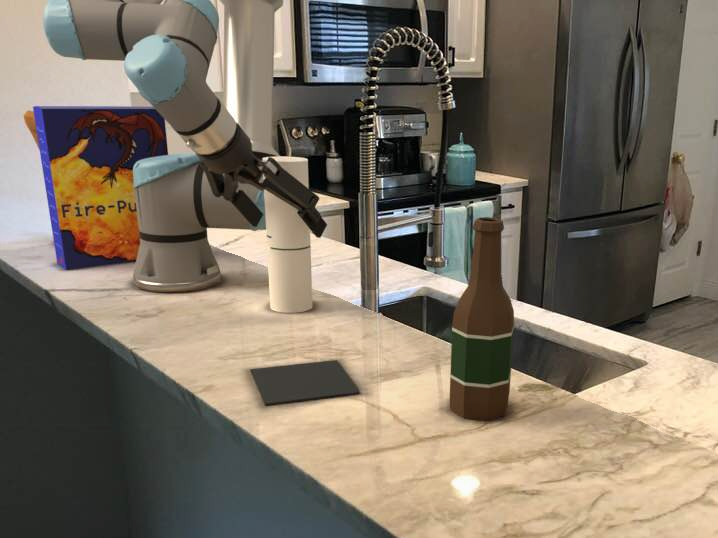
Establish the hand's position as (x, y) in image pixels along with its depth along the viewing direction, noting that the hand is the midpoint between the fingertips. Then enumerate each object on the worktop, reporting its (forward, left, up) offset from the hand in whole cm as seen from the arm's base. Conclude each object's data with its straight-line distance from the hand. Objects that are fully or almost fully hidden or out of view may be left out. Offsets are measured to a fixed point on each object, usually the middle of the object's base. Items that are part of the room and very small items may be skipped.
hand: (289, 225), depth 127 cm
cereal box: (-41, -27, -14) cm, 51 cm away
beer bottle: (+49, +14, -14) cm, 53 cm away
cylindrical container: (0, 0, -14) cm, 14 cm away
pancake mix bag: (-55, -37, -14) cm, 68 cm away
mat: (+34, -5, -14) cm, 37 cm away
